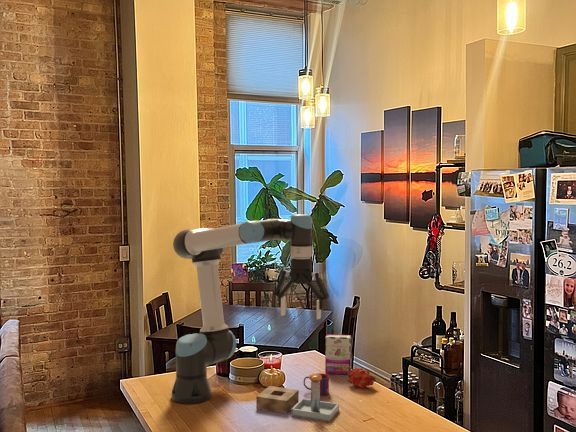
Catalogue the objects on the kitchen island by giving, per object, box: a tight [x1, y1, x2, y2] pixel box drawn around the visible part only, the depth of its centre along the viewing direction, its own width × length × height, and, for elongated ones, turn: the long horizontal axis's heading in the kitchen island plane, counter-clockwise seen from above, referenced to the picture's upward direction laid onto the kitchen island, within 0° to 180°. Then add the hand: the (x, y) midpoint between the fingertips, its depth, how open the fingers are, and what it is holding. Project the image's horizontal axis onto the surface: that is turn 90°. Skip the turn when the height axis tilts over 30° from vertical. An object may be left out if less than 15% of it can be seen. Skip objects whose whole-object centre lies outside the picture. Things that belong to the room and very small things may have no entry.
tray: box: [290, 398, 340, 423], centre depth 207 cm, size 14×11×2 cm
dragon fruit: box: [346, 367, 377, 390], centre depth 234 cm, size 8×8×12 cm
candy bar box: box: [324, 334, 352, 376], centre depth 252 cm, size 11×5×16 cm, turn 81°
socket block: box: [255, 385, 300, 414], centre depth 215 cm, size 12×12×4 cm
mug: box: [303, 373, 330, 397], centre depth 228 cm, size 7×10×7 cm
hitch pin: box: [308, 373, 322, 413], centre depth 207 cm, size 4×4×13 cm
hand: (300, 316), depth 207 cm, fingers open, 13 cm apart
